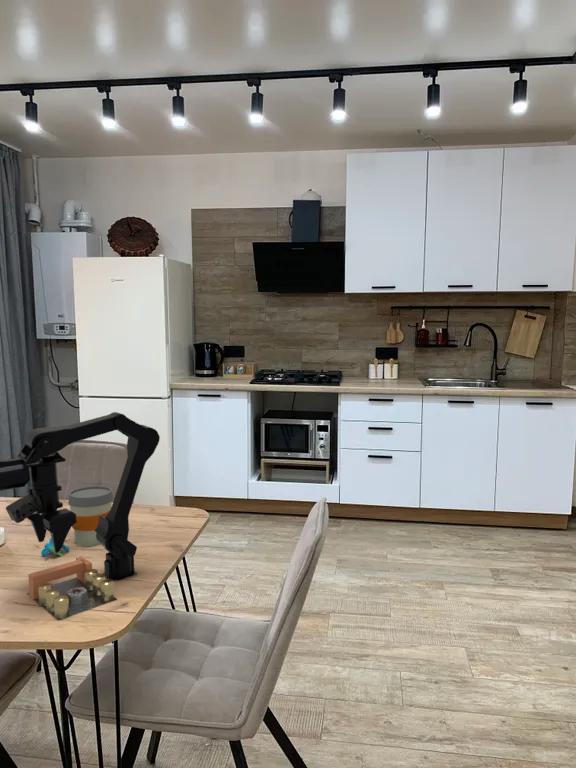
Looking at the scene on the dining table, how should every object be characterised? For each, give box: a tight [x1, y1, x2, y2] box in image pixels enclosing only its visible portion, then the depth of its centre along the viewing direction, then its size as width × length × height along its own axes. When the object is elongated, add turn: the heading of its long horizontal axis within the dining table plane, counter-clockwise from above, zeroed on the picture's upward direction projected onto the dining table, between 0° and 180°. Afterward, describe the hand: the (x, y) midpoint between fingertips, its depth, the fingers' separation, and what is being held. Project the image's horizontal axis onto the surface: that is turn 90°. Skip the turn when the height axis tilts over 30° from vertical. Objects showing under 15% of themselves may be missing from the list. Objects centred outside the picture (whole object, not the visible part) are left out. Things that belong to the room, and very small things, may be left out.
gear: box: [40, 537, 71, 558], centre depth 165 cm, size 11×6×10 cm
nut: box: [66, 587, 88, 605], centre depth 136 cm, size 4×5×2 cm
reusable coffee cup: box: [67, 485, 114, 548], centre depth 174 cm, size 13×13×15 cm
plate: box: [25, 568, 118, 622], centre depth 138 cm, size 14×18×5 cm
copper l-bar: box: [27, 556, 93, 600], centre depth 142 cm, size 6×14×5 cm, turn 134°
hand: (49, 546), depth 139 cm, fingers open, 9 cm apart
